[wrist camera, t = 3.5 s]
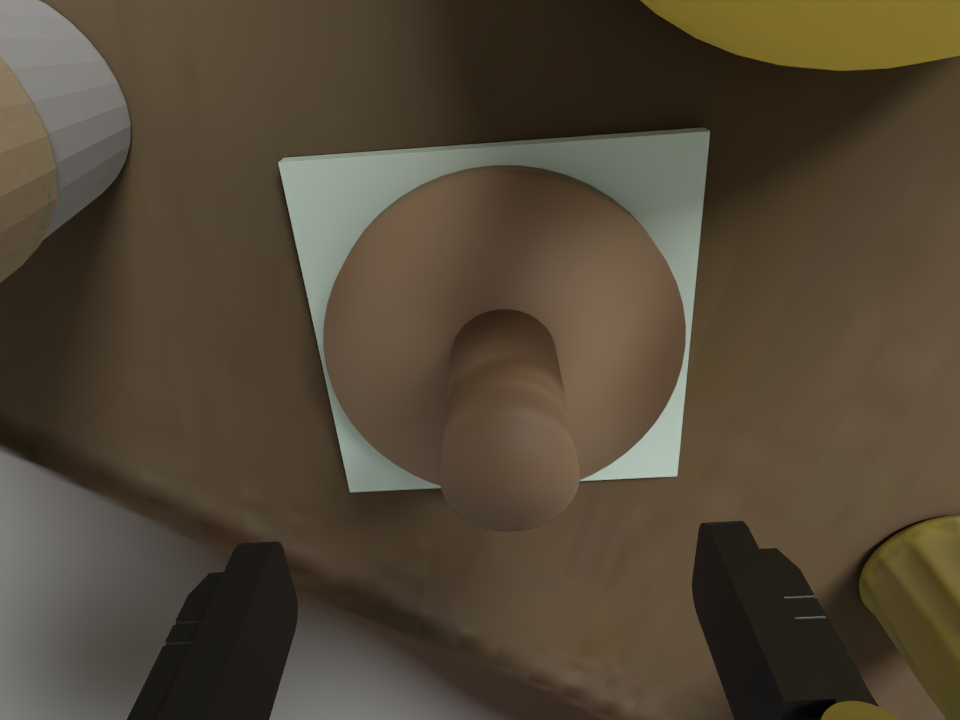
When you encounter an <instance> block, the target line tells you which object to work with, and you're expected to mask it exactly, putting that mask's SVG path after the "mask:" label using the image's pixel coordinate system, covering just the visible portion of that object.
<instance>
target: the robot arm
mask: <svg viewBox="0 0 960 720" xmlns="http://www.w3.org/2000/svg"><path fill="white" fill-rule="evenodd" d="M692 591H693V599H694V605H695V609H696V613H697V616H698V619H699V622H700V624H701V627H702V630H703V633H704V636H705V638H706V641H707V644H708V647H709V650H710V652H711V655H712V658H713V661H714V663H715V666H716V669H717V672H718V675H719V677H720V680H721V683H722V686H723V689H724V691H725V694H726V697H727V700H728V703H729V705H730V708H731V711H732V714H733V717H734V719H735V720H900V719H899V718H897V717H896V716H895V715H893V714H892V713H890V712H888V711H886V710H884V709H882V708H880V707H879V706H878V704H877V703H876V702H875V700H874V698H873V697H872V695H871V694H870V692H869V690H868V688H867V687H866V685H865V683H864V681H863V680H862V678H861V676H860V674H859V672H858V671H857V669H856V667H855V665H854V664H853V662H852V660H851V658H850V657H849V655H848V653H847V651H846V650H845V648H844V646H843V644H842V643H841V641H840V639H839V637H838V636H837V634H836V632H835V630H834V628H833V627H832V625H831V623H830V621H829V620H827V619H826V617H825V613H824V611H823V609H822V607H821V606H820V604H819V602H818V600H817V599H815V598H814V593H813V592H812V590H811V588H810V586H809V585H808V583H807V581H806V579H805V577H804V576H803V574H802V572H801V570H800V569H799V568H798V567H797V566H796V565H794V564H793V563H792V562H791V561H790V560H789V559H788V558H787V557H785V556H784V555H783V554H782V553H781V552H780V551H779V550H778V549H776V548H771V549H759V548H758V546H757V544H756V542H755V540H754V538H753V536H752V534H751V532H750V530H749V528H748V527H747V525H746V524H745V523H744V522H743V521H731V522H710V523H702V524H701V525H700V528H699V533H698V540H697V548H696V555H695V563H694V571H693V578H692ZM297 607H298V605H297V597H296V593H295V589H294V585H293V582H292V578H291V575H290V571H289V568H288V564H287V560H286V557H285V553H284V550H283V547H282V545H281V543H280V542H259V543H240V544H238V545H237V546H236V548H235V549H234V551H233V553H232V555H231V558H230V560H229V562H228V564H227V567H226V569H225V571H224V572H221V573H209V574H208V575H207V576H206V577H205V578H204V579H203V580H202V582H201V583H200V584H199V585H198V586H197V587H196V588H195V589H194V590H193V591H192V592H191V593H190V594H189V595H188V597H187V599H186V601H185V603H184V605H183V607H182V609H181V611H180V613H179V615H178V617H177V619H176V625H173V627H172V629H171V631H170V633H169V635H168V637H167V639H166V645H165V646H163V647H162V649H161V652H160V654H159V656H158V658H157V660H156V662H155V664H154V666H153V668H152V670H151V672H150V674H149V676H148V678H147V680H146V682H145V684H144V686H143V688H142V690H141V692H140V694H139V696H138V698H137V700H136V702H135V704H134V706H133V708H132V710H131V712H130V715H129V717H128V719H127V720H269V718H270V714H271V711H272V708H273V704H274V701H275V697H276V694H277V691H278V687H279V684H280V680H281V677H282V674H283V670H284V667H285V663H286V660H287V656H288V653H289V650H290V646H291V643H292V639H293V636H294V633H295V629H296V624H297V614H298V608H297Z"/></svg>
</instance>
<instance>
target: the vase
mask: <svg viewBox="0 0 960 720" xmlns="http://www.w3.org/2000/svg"><path fill="white" fill-rule="evenodd" d="M859 591H860V597H861V599H862V602H863V604H864V605H865V606H866V607H867V608H868V609H869V610H870V611H871V612H872V613H873V614H874V615H875V617H876V618H877V620H878V621H879V622H880V624H881V626H882V627H883V629H884V630H885V632H886V633H887V634H888V636H889V637H890V639H891V640H892V642H893V643H894V645H895V646H896V648H897V649H898V651H899V652H900V654H901V655H902V657H903V658H904V660H905V661H906V663H907V665H908V666H909V668H910V669H911V670H912V672H913V673H914V675H915V676H916V678H917V679H918V681H919V682H920V684H921V685H922V686H923V688H924V689H925V691H926V692H927V693H928V695H929V696H930V698H931V699H932V700H933V702H934V703H935V705H936V706H937V707H938V709H939V710H940V711H941V713H942V714H943V716H944V717H945V718H946V720H960V515H951V516H943V517H938V518H934V519H930V520H926V521H923V522H920V523H917V524H915V525H912V526H910V527H908V528H906V529H904V530H902V531H900V532H898V533H897V534H895V535H894V536H892V537H891V538H889V539H888V540H887V541H885V542H884V543H883V544H881V545H880V546H879V547H878V548H877V549H876V550H875V551H874V552H873V553H872V555H871V556H870V557H869V559H868V560H867V562H866V563H865V565H864V567H863V569H862V572H861V575H860V579H859Z"/></svg>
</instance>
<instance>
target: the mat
mask: <svg viewBox="0 0 960 720" xmlns="http://www.w3.org/2000/svg"><path fill="white" fill-rule="evenodd" d="M709 139H710V131H709V130H707V129H706V128H704V127H703V128H689V129H675V130H661V131H647V132H634V133H620V134H606V135H592V136H578V137H565V138H551V139H537V140H523V141H509V142H495V143H482V144H468V145H454V146H440V147H426V148H412V149H399V150H385V151H371V152H357V153H343V154H329V155H316V156H302V157H288V158H283V159H282V160H281V161H279V162H278V164H279V169H280V173H281V178H282V182H283V187H284V192H285V196H286V201H287V205H288V210H289V215H290V219H291V224H292V228H293V233H294V238H295V242H296V247H297V251H298V256H299V261H300V265H301V270H302V274H303V279H304V284H305V288H306V293H307V297H308V302H309V307H310V311H311V316H312V320H313V325H314V330H315V334H316V339H317V343H318V348H319V353H320V357H321V362H322V366H323V371H324V376H325V380H326V385H327V389H328V394H329V398H330V403H331V408H332V412H333V417H334V421H335V426H336V431H337V435H338V440H339V444H340V449H341V454H342V458H343V463H344V467H345V472H346V477H347V481H348V486H349V490H350V492H368V491H388V490H409V489H429V488H441V486H439V485H436V484H433V483H430V482H428V481H426V480H423V479H421V478H419V477H417V476H414V475H412V474H410V473H409V472H407V471H405V470H404V469H402V468H400V467H398V466H397V465H395V464H394V463H392V462H391V461H390V460H388V459H387V458H386V457H384V456H383V455H382V454H380V453H379V452H378V451H377V450H376V449H375V448H373V447H372V446H371V445H370V444H369V443H368V442H367V441H366V440H365V439H364V438H363V437H362V435H361V434H360V433H359V432H358V431H357V429H356V428H355V427H354V426H353V424H352V423H351V422H350V420H349V419H348V417H347V415H346V414H345V412H344V411H343V409H342V407H341V406H340V404H339V401H338V399H337V397H336V395H335V393H334V390H333V388H332V385H331V382H330V378H329V375H328V372H327V368H326V362H325V355H324V347H323V334H324V320H325V314H326V307H327V303H328V299H329V296H330V293H331V290H332V287H333V284H334V282H335V280H336V278H337V275H338V273H339V271H340V269H341V267H342V265H343V263H344V261H345V260H346V258H347V256H348V254H349V252H350V250H351V249H352V247H353V246H354V244H355V243H356V241H357V240H358V238H359V237H360V236H361V234H362V233H363V231H364V230H365V229H366V228H367V227H368V226H369V224H370V223H371V222H372V221H373V220H374V219H375V218H376V217H377V216H378V215H379V214H380V213H381V212H382V211H383V210H385V209H386V208H387V207H388V206H389V205H391V204H392V203H393V202H394V201H396V200H397V199H398V198H400V197H401V196H403V195H405V194H406V193H408V192H410V191H411V190H413V189H415V188H416V187H418V186H420V185H422V184H424V183H427V182H429V181H431V180H434V179H436V178H438V177H441V176H443V175H447V174H450V173H454V172H457V171H461V170H465V169H469V168H477V167H484V166H491V165H520V166H527V167H535V168H543V169H547V170H550V171H554V172H558V173H561V174H565V175H568V176H571V177H573V178H575V179H578V180H580V181H582V182H585V183H587V184H589V185H591V186H593V187H595V188H596V189H598V190H600V191H601V192H603V193H605V194H606V195H608V196H610V197H611V198H612V199H614V200H615V201H616V202H617V203H619V204H620V205H621V206H622V207H623V208H625V209H626V210H627V211H628V212H630V213H631V215H632V216H633V217H634V218H635V219H636V220H637V221H638V222H639V223H640V224H641V226H642V227H643V228H644V229H645V230H646V232H647V233H648V234H649V236H650V237H651V239H652V240H653V242H654V243H655V245H656V246H657V248H658V249H659V251H660V252H661V254H662V255H663V257H664V258H665V260H666V261H667V263H668V265H669V267H670V269H671V271H672V274H673V276H674V278H675V280H676V282H677V285H678V289H679V292H680V295H681V299H682V302H683V308H684V315H685V323H686V342H685V352H684V358H683V364H682V369H681V372H680V375H679V378H678V381H677V384H676V387H675V389H674V391H673V393H672V396H671V398H670V400H669V402H668V404H667V406H666V407H665V409H664V410H663V412H662V413H661V415H660V417H659V418H658V420H657V421H656V423H655V424H654V425H653V426H652V427H651V429H650V430H649V431H648V432H647V433H646V434H645V436H644V437H643V438H642V439H641V440H640V441H639V442H638V443H637V444H636V445H634V446H633V447H632V448H631V449H630V450H629V451H628V452H627V453H625V454H624V455H623V456H621V457H620V458H619V459H617V460H616V461H614V462H613V463H612V464H610V465H609V466H607V467H605V468H603V469H602V470H600V471H598V472H596V473H595V474H593V475H591V476H588V477H586V478H584V479H581V480H580V481H590V480H610V479H630V478H650V477H670V476H677V473H678V462H679V452H680V442H681V431H682V421H683V410H684V400H685V389H686V379H687V369H688V358H689V348H690V337H691V327H692V317H693V306H694V296H695V285H696V275H697V264H698V254H699V244H700V233H701V223H702V212H703V202H704V191H705V181H706V171H707V160H708V150H709Z"/></svg>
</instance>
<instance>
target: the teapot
mask: <svg viewBox="0 0 960 720" xmlns="http://www.w3.org/2000/svg"><path fill="white" fill-rule="evenodd" d="M640 1H642V2H643V3H644V4H645V5H646V6H647V7H649V8H650V9H651V10H652V11H653V12H654V13H656V14H657V15H659V16H660V17H662V18H664V19H665V20H667V21H669V22H670V23H672V24H673V25H675V26H677V27H678V28H680V29H681V30H683V31H685V32H686V33H688V34H690V35H691V36H693V37H694V38H697V39H699V40H701V41H704V42H706V43H709V44H711V45H713V46H716V47H718V48H721V49H723V50H725V51H728V52H730V53H733V54H735V55H739V56H743V57H747V58H751V59H755V60H759V61H764V62H768V63H772V64H776V65H782V66H791V67H801V68H812V69H824V70H835V71H851V70H869V69H887V68H894V67H900V66H906V65H912V64H918V63H923V62H929V61H934V60H939V59H945V58H950V57H955V56H960V0H640Z"/></svg>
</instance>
